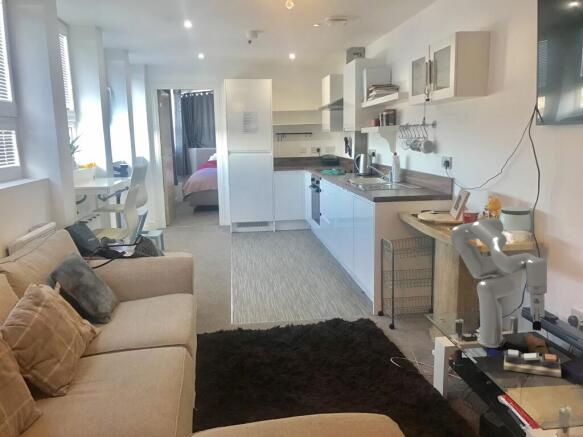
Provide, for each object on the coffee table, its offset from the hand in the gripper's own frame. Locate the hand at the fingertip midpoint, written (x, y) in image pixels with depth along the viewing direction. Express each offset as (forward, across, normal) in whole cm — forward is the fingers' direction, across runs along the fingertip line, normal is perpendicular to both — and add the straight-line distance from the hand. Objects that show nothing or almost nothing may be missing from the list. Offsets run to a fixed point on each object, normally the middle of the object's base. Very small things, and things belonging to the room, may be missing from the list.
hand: (536, 329), depth 190 cm
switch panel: (+17, 0, +2) cm, 17 cm away
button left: (+14, 0, +9) cm, 16 cm away
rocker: (+13, 0, +2) cm, 13 cm away
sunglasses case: (+18, +17, 0) cm, 25 cm away
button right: (+14, 0, -5) cm, 15 cm away
